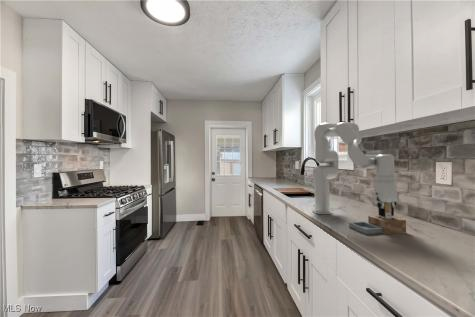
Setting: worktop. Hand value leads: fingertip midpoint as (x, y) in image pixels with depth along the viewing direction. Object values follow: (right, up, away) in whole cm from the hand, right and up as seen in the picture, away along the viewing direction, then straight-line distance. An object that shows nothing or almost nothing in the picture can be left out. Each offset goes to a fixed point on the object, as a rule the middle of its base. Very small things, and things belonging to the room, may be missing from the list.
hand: (386, 215), depth 110 cm
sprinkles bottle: (0, -5, 0) cm, 5 cm away
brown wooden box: (0, -7, 0) cm, 7 cm away
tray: (-11, -8, 0) cm, 13 cm away
